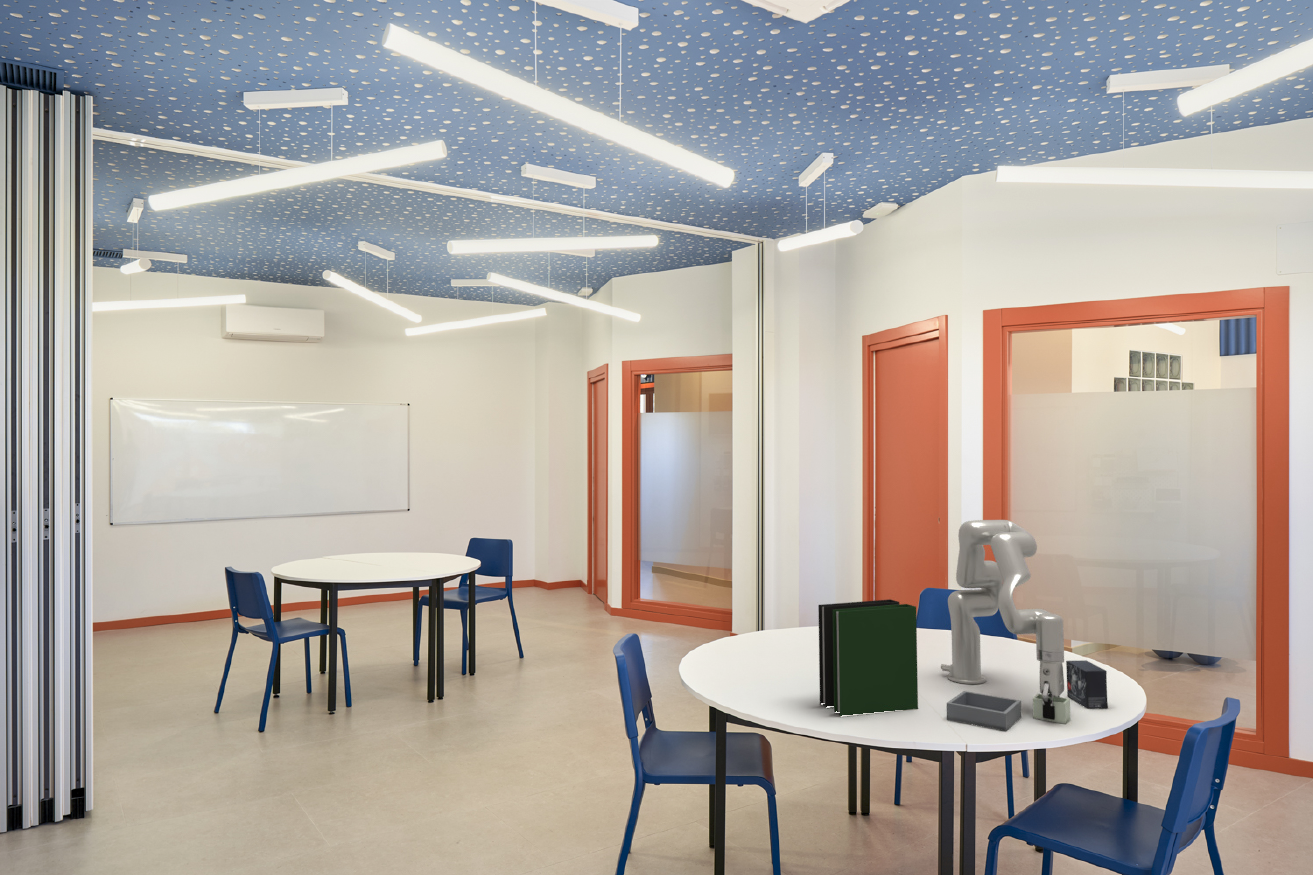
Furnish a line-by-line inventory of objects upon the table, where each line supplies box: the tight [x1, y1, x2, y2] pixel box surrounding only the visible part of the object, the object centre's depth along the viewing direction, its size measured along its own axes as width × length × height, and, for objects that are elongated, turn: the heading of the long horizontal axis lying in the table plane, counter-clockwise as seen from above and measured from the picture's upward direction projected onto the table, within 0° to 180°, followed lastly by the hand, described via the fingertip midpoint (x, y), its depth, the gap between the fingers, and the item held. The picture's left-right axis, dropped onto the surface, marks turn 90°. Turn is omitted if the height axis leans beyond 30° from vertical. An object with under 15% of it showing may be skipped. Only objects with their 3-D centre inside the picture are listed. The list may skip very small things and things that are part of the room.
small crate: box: [1032, 693, 1071, 725], centre depth 241 cm, size 9×6×6 cm, turn 51°
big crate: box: [946, 690, 1022, 732], centre depth 242 cm, size 17×16×5 cm
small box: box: [1065, 659, 1109, 710], centre depth 257 cm, size 13×7×12 cm, turn 178°
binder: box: [818, 598, 919, 717], centre depth 255 cm, size 27×15×32 cm, turn 107°
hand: (1051, 715), depth 241 cm, fingers closed on small crate, 6 cm apart
